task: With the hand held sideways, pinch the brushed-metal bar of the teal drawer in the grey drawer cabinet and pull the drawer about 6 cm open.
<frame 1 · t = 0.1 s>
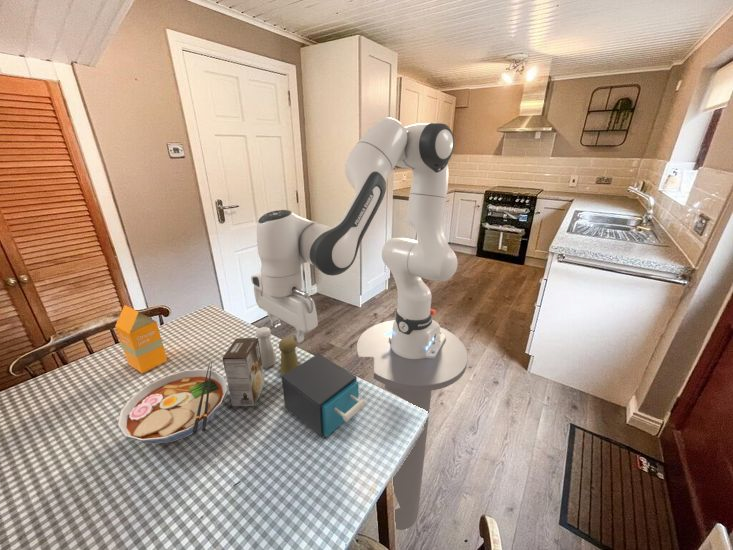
hand: (287, 333, 75), 22 cm above the table, tool pointing down, fingers open, 8 cm apart
orange juice: (148, 362, 99), on the table
grey drawer cabinet: (320, 407, 81), on the table
coffee box: (249, 395, 86), on the table
olive pepper shaker: (290, 370, 96), on the table
teal drawer: (330, 399, 77), point 5 cm above the table, slide at 0.0 cm
salt shaker: (267, 364, 98), on the table
ramen bowl: (183, 422, 77), on the table
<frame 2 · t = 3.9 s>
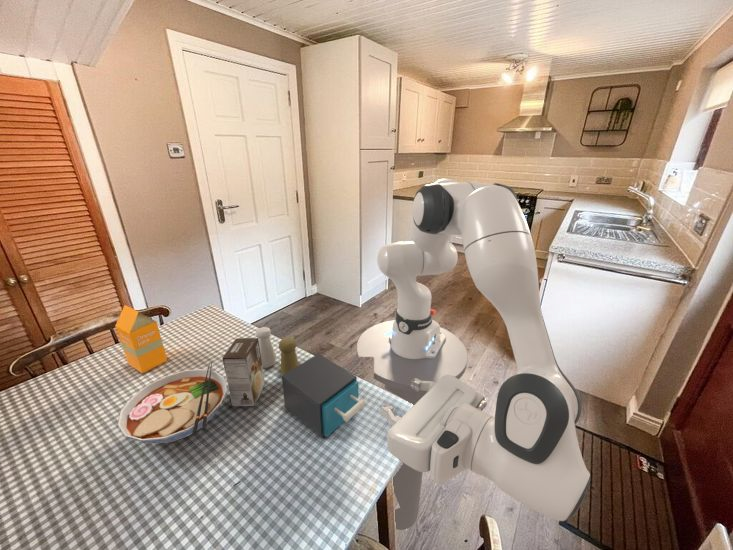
hand: (398, 394, 59), 20 cm above the table, tool horizontal, fingers open, 8 cm apart
nothing on the table moved.
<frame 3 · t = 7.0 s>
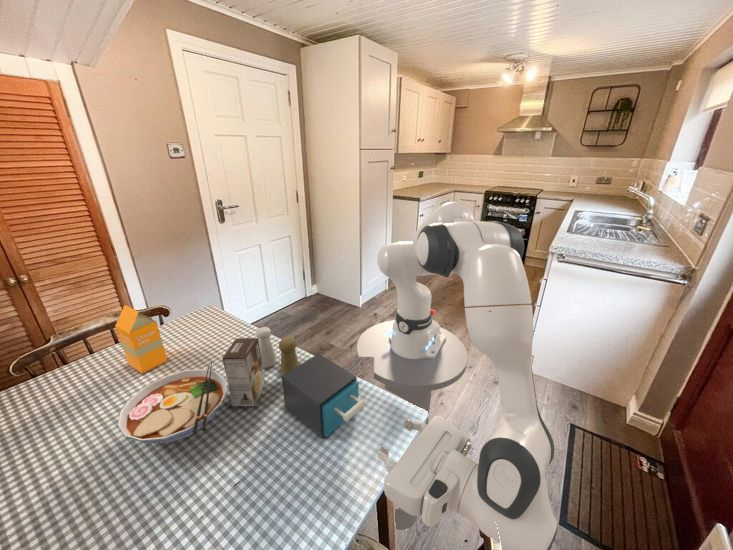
hand: (392, 435, 65), 8 cm above the table, tool horizontal, fingers open, 8 cm apart
nothing on the table moved.
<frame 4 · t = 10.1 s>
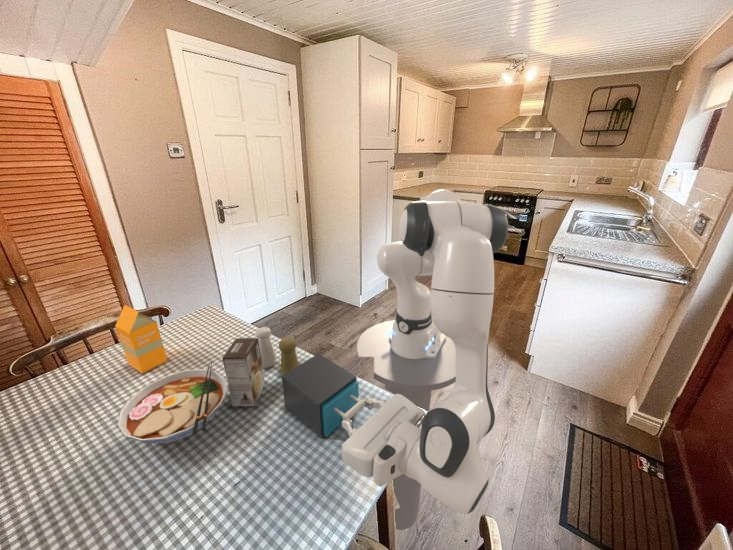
hand: (355, 411, 71), 7 cm above the table, tool horizontal, fingers closed on teal drawer, 6 cm apart
teal drawer: (330, 399, 77), point 5 cm above the table, slide at 0.0 cm, touching gripper
everything else where it was.
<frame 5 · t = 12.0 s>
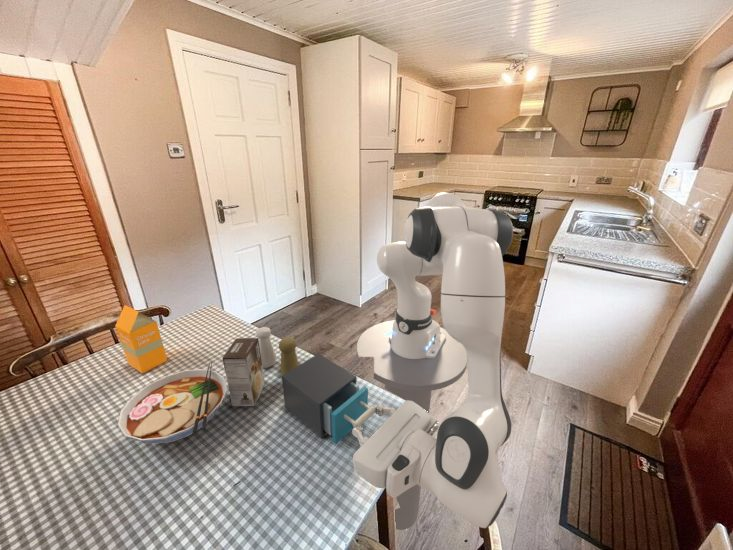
hand: (365, 418, 69), 7 cm above the table, tool horizontal, fingers closed on teal drawer, 6 cm apart
teal drawer: (339, 406, 75), point 5 cm above the table, slide at 3.2 cm, touching gripper
everything else where it was.
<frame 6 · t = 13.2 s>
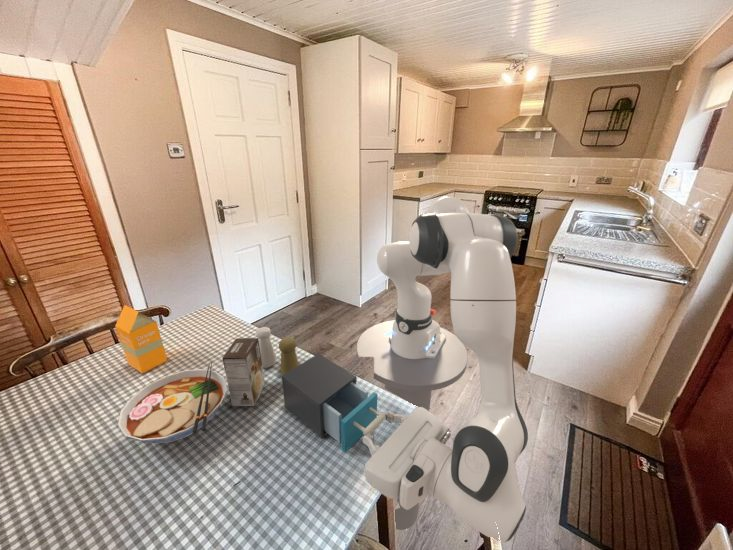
hand: (376, 425, 67), 7 cm above the table, tool horizontal, fingers closed on teal drawer, 6 cm apart
teal drawer: (348, 412, 73), point 5 cm above the table, slide at 6.2 cm, touching gripper
everything else where it was.
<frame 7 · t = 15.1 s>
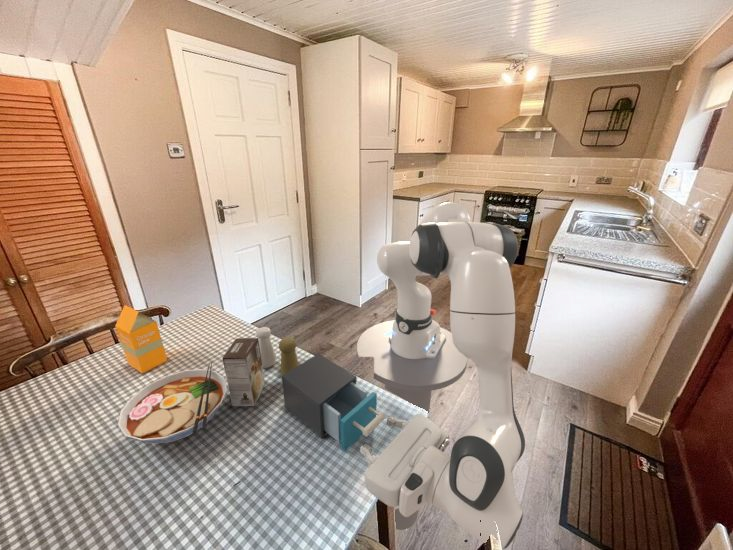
hand: (376, 432, 68), 5 cm above the table, tool horizontal, fingers open, 8 cm apart
teal drawer: (347, 412, 73), point 5 cm above the table, slide at 6.0 cm
everything else where it was.
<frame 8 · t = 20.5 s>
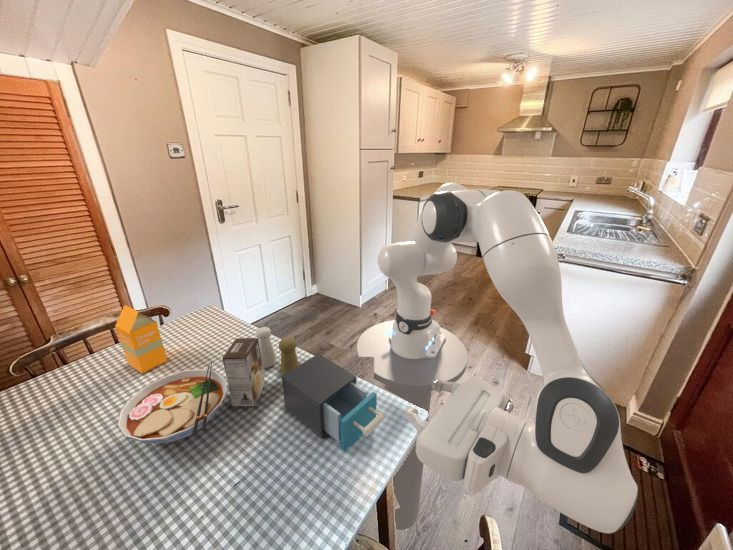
hand: (421, 396, 56), 22 cm above the table, tool horizontal, fingers open, 8 cm apart
nothing on the table moved.
at the end: teal drawer slide at 6.0 cm; the gripper is holding nothing; coffee box moved 0.2 cm from its start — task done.
